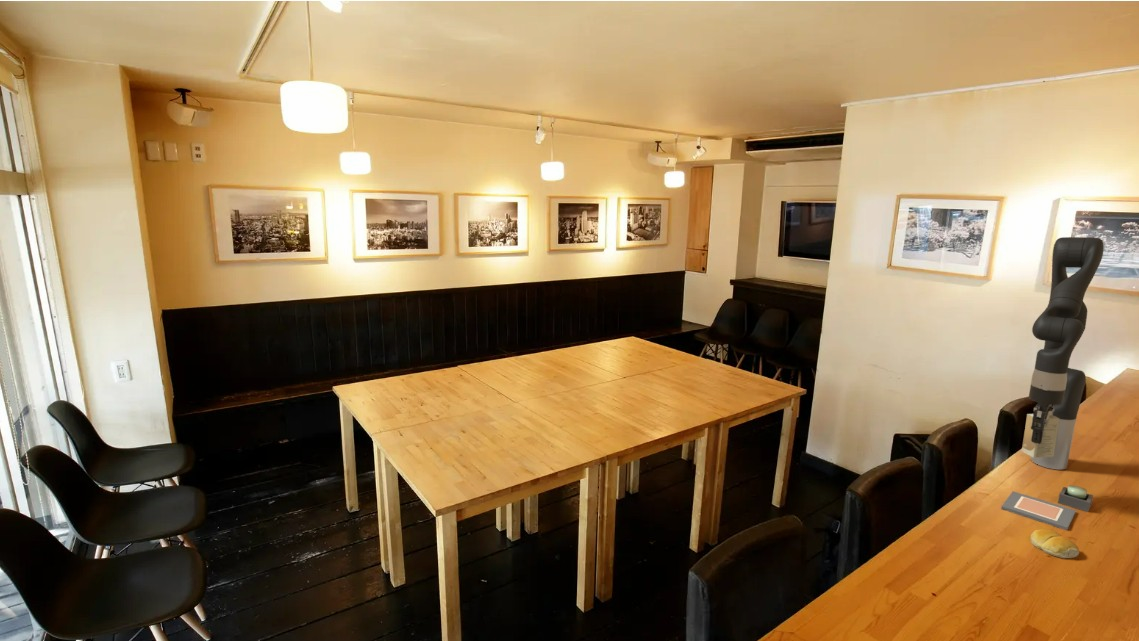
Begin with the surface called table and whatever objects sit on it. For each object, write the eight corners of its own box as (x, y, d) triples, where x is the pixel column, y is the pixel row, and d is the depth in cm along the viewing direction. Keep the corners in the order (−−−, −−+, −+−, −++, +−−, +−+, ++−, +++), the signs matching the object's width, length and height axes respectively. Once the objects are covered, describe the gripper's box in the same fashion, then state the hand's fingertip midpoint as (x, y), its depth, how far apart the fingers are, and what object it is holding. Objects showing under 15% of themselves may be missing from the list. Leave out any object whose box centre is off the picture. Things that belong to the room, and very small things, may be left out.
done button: (1068, 489, 158) (1069, 484, 158) (1086, 495, 155) (1088, 489, 155) (1065, 494, 156) (1066, 488, 155) (1084, 499, 153) (1085, 493, 152)
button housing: (1061, 495, 160) (1063, 486, 160) (1091, 504, 155) (1093, 495, 155) (1057, 502, 156) (1059, 494, 156) (1088, 512, 151) (1089, 502, 151)
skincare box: (1040, 450, 162) (1047, 412, 159) (1054, 457, 158) (1061, 418, 155) (1019, 451, 162) (1026, 413, 159) (1032, 458, 157) (1039, 418, 155)
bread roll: (1048, 536, 140) (1051, 522, 140) (1084, 558, 132) (1087, 543, 131) (1020, 539, 139) (1022, 525, 139) (1054, 560, 131) (1057, 546, 130)
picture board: (1012, 493, 161) (1012, 490, 161) (1075, 512, 151) (1076, 509, 151) (1001, 508, 153) (1001, 505, 153) (1067, 530, 143) (1067, 527, 143)
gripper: (1036, 377, 163) (1028, 428, 166) (1025, 387, 154) (1016, 441, 157) (1069, 382, 157) (1060, 435, 160) (1060, 394, 148) (1050, 450, 151)
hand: (1038, 438), depth 159 cm, fingers closed on skincare box, 7 cm apart
